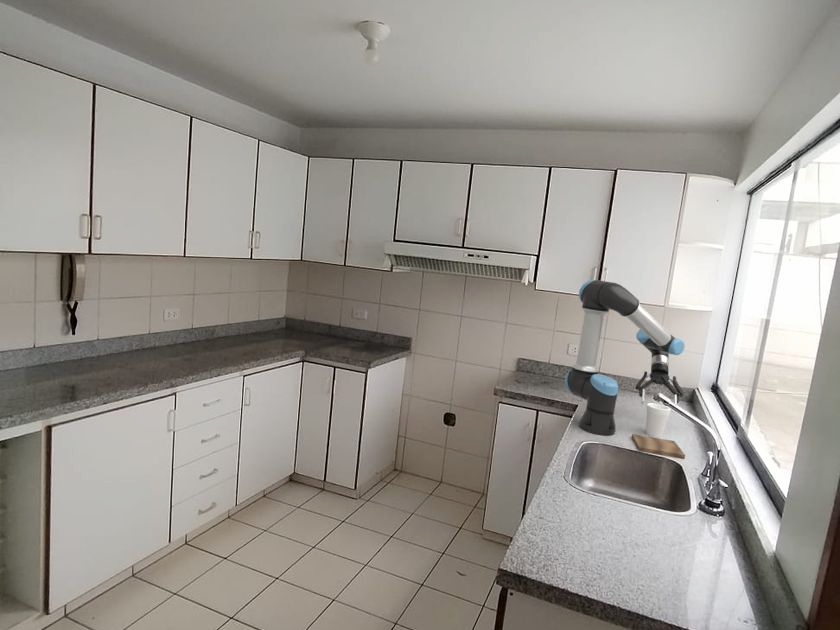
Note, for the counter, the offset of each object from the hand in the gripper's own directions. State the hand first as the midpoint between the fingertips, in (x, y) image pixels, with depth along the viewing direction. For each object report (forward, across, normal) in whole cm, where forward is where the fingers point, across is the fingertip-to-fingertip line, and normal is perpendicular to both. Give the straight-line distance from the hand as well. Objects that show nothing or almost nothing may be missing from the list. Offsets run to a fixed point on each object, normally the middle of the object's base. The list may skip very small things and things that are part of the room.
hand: (658, 405), depth 233 cm
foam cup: (+14, +1, -3) cm, 14 cm away
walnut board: (+25, +2, +9) cm, 27 cm away
